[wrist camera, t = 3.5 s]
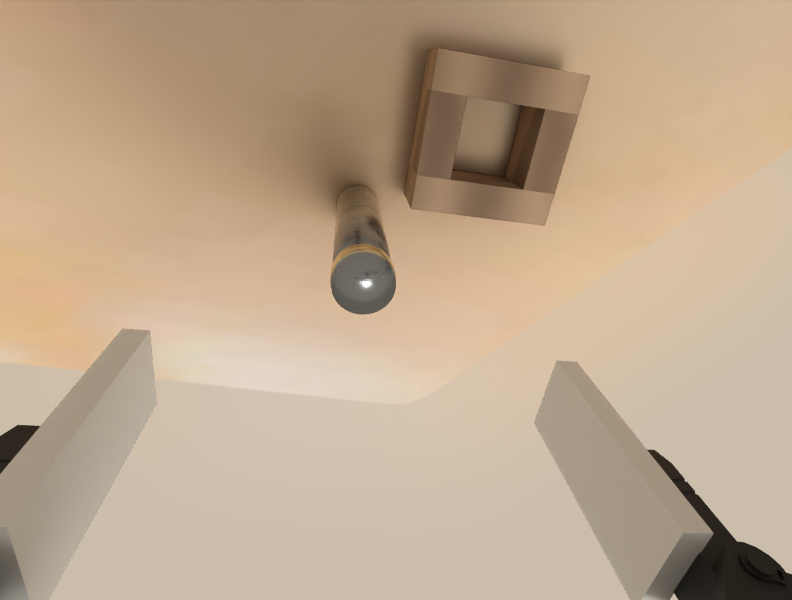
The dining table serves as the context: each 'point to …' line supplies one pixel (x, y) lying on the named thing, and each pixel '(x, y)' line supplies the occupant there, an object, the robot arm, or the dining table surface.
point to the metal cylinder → (361, 254)
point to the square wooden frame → (532, 149)
